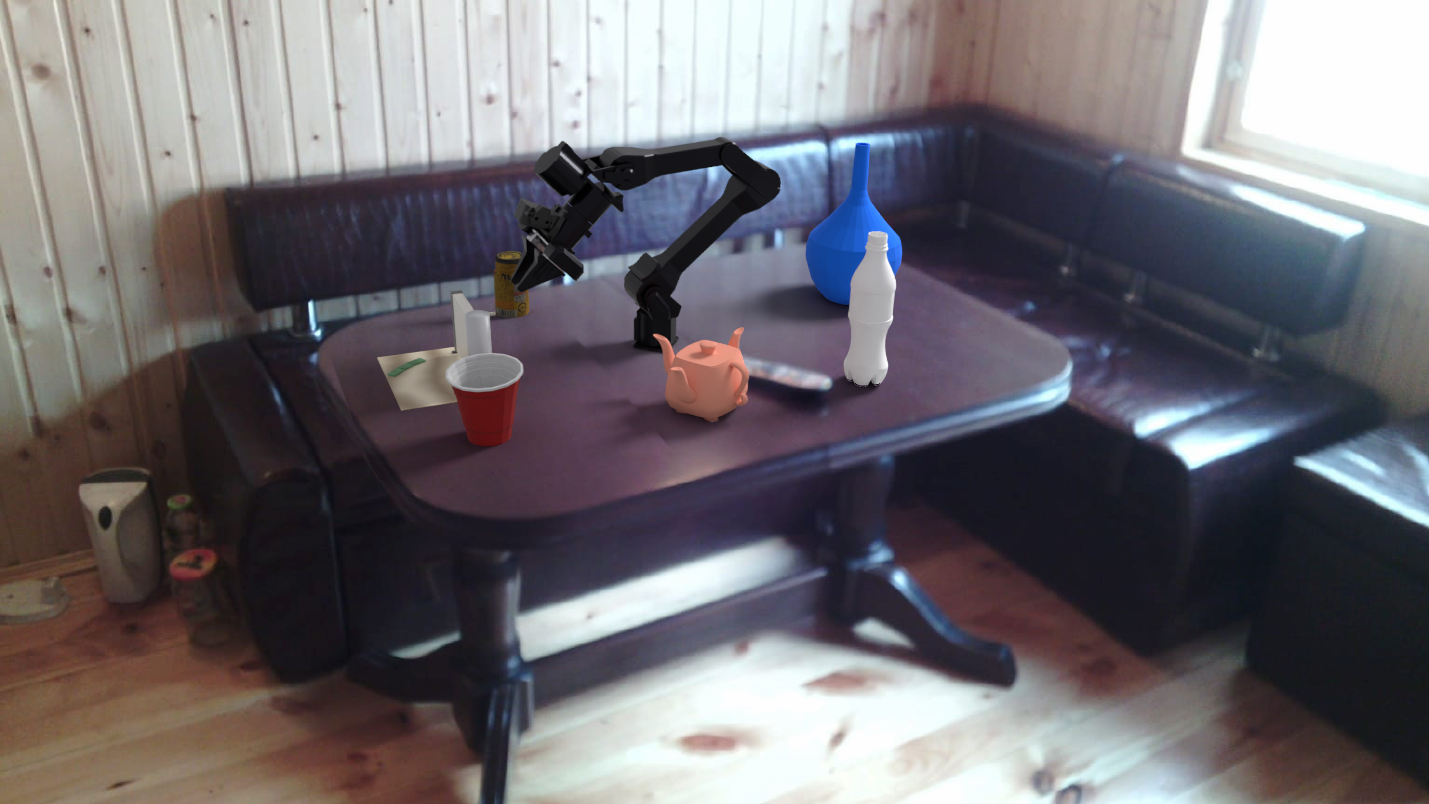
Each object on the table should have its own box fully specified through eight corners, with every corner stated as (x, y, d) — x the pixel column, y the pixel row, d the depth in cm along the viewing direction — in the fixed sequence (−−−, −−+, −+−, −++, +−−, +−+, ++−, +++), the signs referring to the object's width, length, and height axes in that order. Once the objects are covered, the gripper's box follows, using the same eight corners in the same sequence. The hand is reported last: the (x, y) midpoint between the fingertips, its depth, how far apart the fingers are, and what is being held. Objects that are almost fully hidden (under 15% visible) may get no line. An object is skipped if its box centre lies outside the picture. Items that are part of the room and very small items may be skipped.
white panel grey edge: (496, 389, 180) (492, 317, 175) (473, 392, 178) (468, 320, 173) (470, 349, 193) (466, 281, 188) (449, 352, 192) (444, 283, 187)
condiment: (527, 309, 215) (525, 247, 210) (537, 326, 208) (535, 262, 203) (488, 313, 213) (484, 251, 208) (497, 330, 206) (493, 266, 200)
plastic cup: (435, 451, 165) (428, 374, 159) (478, 421, 174) (474, 347, 168) (500, 468, 161) (495, 390, 156) (541, 436, 170) (538, 361, 165)
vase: (806, 277, 235) (815, 130, 222) (897, 284, 233) (912, 136, 220) (799, 310, 219) (809, 152, 206) (897, 317, 217) (913, 159, 204)
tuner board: (474, 350, 197) (473, 342, 196) (506, 401, 180) (506, 392, 179) (377, 364, 191) (376, 355, 190) (401, 417, 174) (401, 408, 173)
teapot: (670, 433, 172) (671, 365, 167) (652, 392, 184) (652, 328, 180) (764, 425, 175) (767, 358, 170) (740, 385, 188) (743, 322, 183)
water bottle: (890, 375, 193) (905, 230, 182) (881, 392, 187) (896, 243, 176) (848, 368, 195) (860, 224, 184) (837, 385, 189) (850, 237, 178)
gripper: (527, 167, 189) (464, 239, 190) (562, 197, 174) (493, 275, 175) (574, 209, 196) (513, 279, 196) (612, 242, 180) (545, 317, 181)
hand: (515, 286), depth 187 cm, fingers open, 3 cm apart
